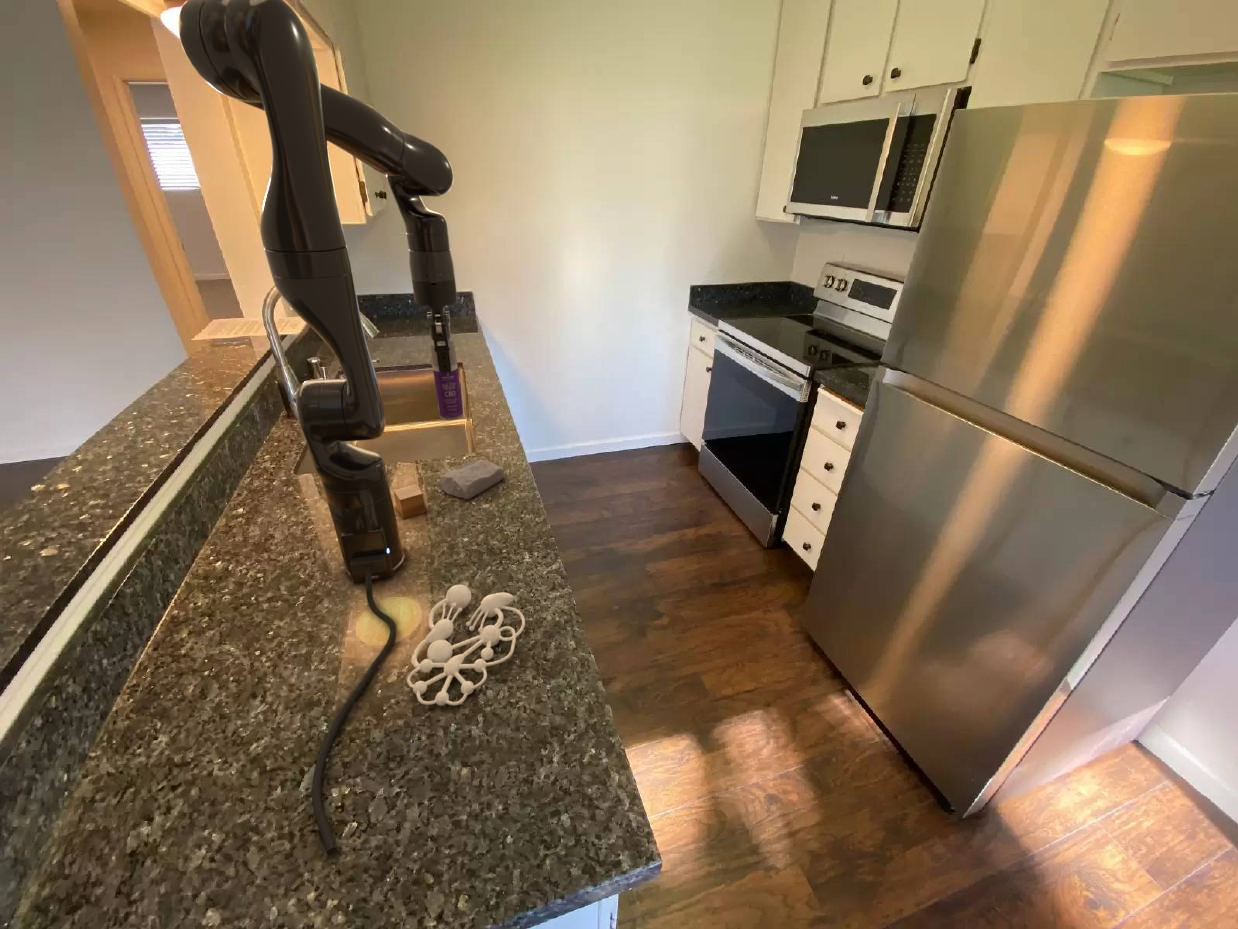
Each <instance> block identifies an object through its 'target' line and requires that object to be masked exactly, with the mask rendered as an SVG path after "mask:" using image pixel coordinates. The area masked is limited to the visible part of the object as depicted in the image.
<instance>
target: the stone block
mask: <svg viewBox="0 0 1238 929" xmlns="http://www.w3.org/2000/svg"><path fill="white" fill-rule="evenodd" d="M504 474H505V471H504V469H503V468H502V467H501V466H499V465H497V464H496V463H493V462H491V461H489V460H486V459H472V460H469V461H467V462H465V463H462V464H461V465H459V466H457V467H456V468H454V470H451V471H449V472H446V473H443V474H442V475H440V476H439V485H440V488H441V490H442V491H443V492H445V494H447V495H449V496H454V497H457V498H459V499H463V500H470V499H472V498H474V497H476V496H477V495H479V494H481V493H482V492H484V491H486V490H488V489H489V488H491V487H492V486H495V485H496V484H498V483H499V482H500V481H502V480H503V478H504V476H505V475H504Z"/></svg>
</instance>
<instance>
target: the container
mask: <svg viewBox="0 0 1238 929" xmlns="http://www.w3.org/2000/svg"><path fill="white" fill-rule="evenodd" d="M437 343H438V346H444V345H446V344H445V342H444V341H442V342H437ZM448 344H449V348H450V351H449V356H450V364H451V371H450V372H440V371H439V366H438V359H437V353H435V351H434V348H435V346H434V341H433V342H430V343H429V346H430V347H429V348H430V357H431V365H432V373H433V381H434V386H435V393H436V400H437V401H436V402H437V408H438V414H439V418H440V419H441V420H445V421H454V420H459V419H461V418H463V417H464V410H463V401H462V392H461V384H460V376H459V375H460V374H459V368H458V367H459V366H458V360H457V353H456V346H455V342H454V341H451V340H449V341H448Z"/></svg>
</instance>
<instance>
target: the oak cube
mask: <svg viewBox="0 0 1238 929" xmlns="http://www.w3.org/2000/svg"><path fill="white" fill-rule="evenodd" d="M392 492H393V496H394V500H395V505H396V509H397V511H398V512H399V514H400V515H401V517H402V519H403V520H405V519H408V518H411V517H414V516H418V515H421V514H424V513H426V512H427V510H426V504H425V499H424V493H423V492H422V490H421V489H420V488H419V487H418V485H417V484H416V483H415V484H414V483H413V484H411V485H408V486H404V487H400V488H397V489H393V491H392Z"/></svg>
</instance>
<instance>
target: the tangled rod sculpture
mask: <svg viewBox="0 0 1238 929" xmlns="http://www.w3.org/2000/svg"><path fill="white" fill-rule="evenodd" d="M445 594H446V595H445V598H443V599H442V600H441V601H439V602H438V603H436V604H435V605H434V606H433V607H432V608H431V610H430V611H429V615H428V623H427V624H428V628H429V630H430V631H429V632H428V633H427V635H426V636H425V638H424V639H423V640H422V641H421V642H419V643H418V645H417V646H416V648H415V649H414V651H413V654H412V655H411V658H410V659H411V660H410V661H411V664H412V666H413V668H414V669H413V670H412V671H410V673H409V674H408V675H407V678H406V683H407V684H408V687H410V688H412V692H413V693H414V694H415V695H416V699H417V701H418V702H419V703H420V704H421V705H424V706H431V705H434V704H436V705H437V706H439V707H443V706H446V705H449V706H459V705H461V704H463V703H464V702H465V700H466V699H467V697H468V696H469V695H471V694H472V693H473V692H474V690H475V689H477V688H480V687H481V686H482V685H483V684H484V683H485V682H486V680H487V678H488V672H487V667H491V666H496V665H499V664H502V663H504V662H505V661H507V660H509V659H510V658H511V657H512V656H513V655H514V651H515V648H516V640H517V638H518V637H519V636H520V635H521V634H522V632H523V631H524V629H525V626H526V620H525V616H524V615H523V613H522V612H521V610H519V609H518V608H515V607H511V606H508V605H510V604H511V603H513V601H514V595H513V594H511V593H509V592H503V591H502V592H496V593H491V594H488V595H486V596H484V597H483V599H482V600H481V602H480V605H479V606H478V608H477V609H476V610H475V612H474V613H473V615H472V616H471V617H470V619H469V621H466V623H465V626H466V627H468V630H469V631H470V632H473V631H475V628H476V625H477V624H478V623H479V621H480V618H481V617H482V616H483V617H482V619H481V622H480V627H478V629H477V632H478V633H479V635H476V636H473V637H471V638H468V639H466V640H463V641H460V642H458V643H455V644H451V643H450V642H449V641H447V640H446V639H448V638H449V637H451V635H452V634H453V632H454V624H453V623H454V621H455V619H456V617H457V615H458V614H459V613H461V612H463V609H465V608H467V606H468V605H469V604H470V603H471V601H472V592H471V590H470V588H469V587H468V586H466V585H464V584H461V583H458V584H455V585H452V586H451V587H450V588H449V589H448V590H447V592H446V593H445ZM447 605H448V607H449V608H450V609H449V610H448V613H447V616H446V618H445V615H446V606H447ZM441 607H442V615H441V618H440V619H439V620H438V621H437V622H436V623H435V624H434V621H435V620H434V618H435V614H436V612H437V611H438V610H439V609H440V608H441ZM453 610H457V611H456V612H455V613H454V615H453V617H451V618H452V619H451V620H450V616H451V615H452V614H451V613H452V611H453ZM502 610H506V611H512V612H514V613H516V614H517V615H518V616H519V617H520V619H521V626H520V628H519V630H518V631H517V632H516V630H515V629H514V628H513V627H512V626H509V625H507V626H502V624H503V622H504V617H505V616H504V613H503V612H502ZM478 613H479V614H478ZM477 614H478V615H477ZM495 616H498V619H497V621H496V623H495V624H494V625H493V624H489V625H486V626H484V623H485V621H486V619H487V617H488V618H493V617H495ZM475 618H476V619H475ZM473 621H474V622H473ZM472 623H473V624H472ZM506 630H507V631H511V634H512V636H510V637H504V636H502V633H501V632H503V631H506ZM476 641H477V642H476ZM500 641H503V642H511V646H510V650H509V653H508V654H507V655H506V656H504V657H502V658H500V659H498V660H495V661H489V660H492V658H493V657H494V650H493V649H492V647H494V646H496V645H498V643H500ZM474 642H476V643H475V644H473V645H472V646H471V647H470V648H468V649H467V650H466V651H465V652H463V653H460V654H457V655H454V656H453V652H454V650H456V649H458V648H461V647H464V646H466V645H469V644H471V643H474ZM427 644H428V645H429V644H430V645H429V646H428V648H427V651H426V657H427V658H424V659H423V660H421V661H420V663H419V662H418V657H419V655H420V653H421V651H422V649H423V648H424V647H425V646H426V645H427ZM481 645H483V646H485V647H484V648H482V650H481V651H480V657H481V658H478V659H476V660H475V661H474V662H473V663H464V660H465V658H466V657H467V656H468V655H470V654H471V653H473V652H474V651H475V650H477V649H478V648H479V647H480V646H481ZM486 661H489V662H486ZM434 668H443V672H441V673H440V674H438V675H435V676H434V677H432V678H430V679H428V680H425V681H424V680H418V681H416V682H415V683H414V684H413V683H412V681H411V679H412V677H413V675H414V674H415V673H418V671H421V672H422V673H429V672H431V670H432V669H434ZM470 669H473V670H474V671H475V672H477V673H482V674H483V677H482V679H481V680H480V681H479V682H478V683H476V684H474V683H473V681H470V680H466V679H465V678H464V676H462V675H461V673H460V670H470ZM454 677H455V679H457V680H458V682H460V684H461V686H460V692H461V693H462V694H463V696H462V697H461V699H459V700H458V701H451V700H450V695H449V693H448V690H449V687H450V685H451V682H452V680H453V678H454ZM444 678H446V679H445V682H444V684H443V686H442V687H441V690H440V691H439V692H438V693H436V695H435V697H434V700H429V701H428V700H424V699H423V698H422V697H421V695H424V694H425V693H426V691H427V690H428V686H430V685H432V684H434V683H436V682H438V681H439V680H442V679H444Z"/></svg>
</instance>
